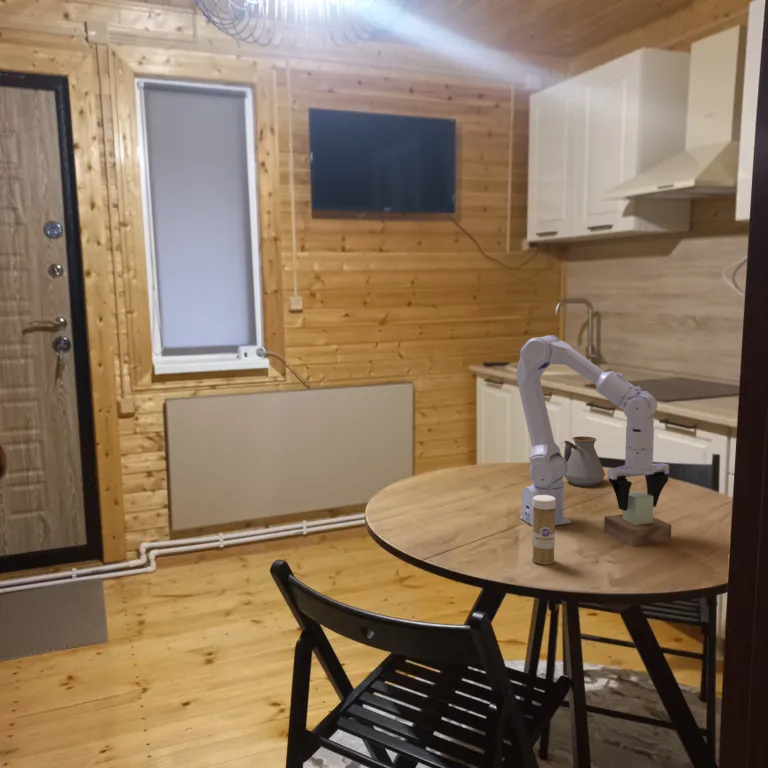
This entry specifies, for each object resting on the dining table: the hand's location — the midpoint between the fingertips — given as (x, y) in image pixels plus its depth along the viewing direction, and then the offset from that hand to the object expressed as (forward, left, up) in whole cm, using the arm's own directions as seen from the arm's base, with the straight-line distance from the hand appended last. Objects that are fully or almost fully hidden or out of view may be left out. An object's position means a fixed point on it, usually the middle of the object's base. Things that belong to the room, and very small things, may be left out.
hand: (637, 507), depth 157 cm
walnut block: (0, 0, -6) cm, 6 cm away
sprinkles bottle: (-27, -6, -7) cm, 28 cm away
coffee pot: (+10, +39, -7) cm, 41 cm away
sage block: (0, 0, -3) cm, 3 cm away
